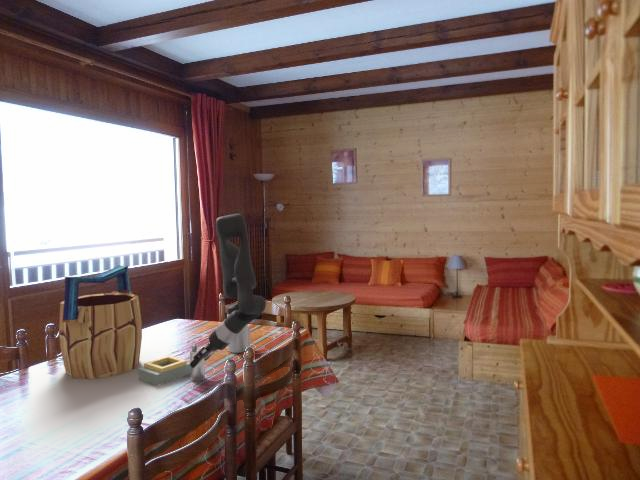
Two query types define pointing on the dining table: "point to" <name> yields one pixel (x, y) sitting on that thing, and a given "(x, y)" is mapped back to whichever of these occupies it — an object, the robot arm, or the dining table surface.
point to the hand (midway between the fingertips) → (197, 362)
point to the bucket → (100, 328)
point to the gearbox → (164, 370)
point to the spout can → (199, 370)
